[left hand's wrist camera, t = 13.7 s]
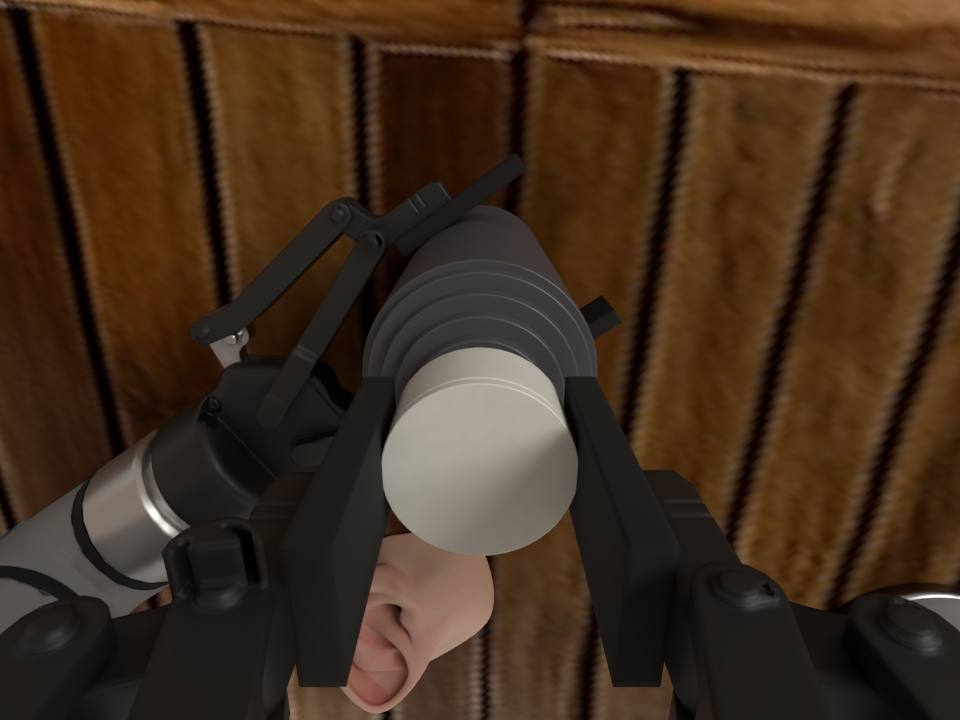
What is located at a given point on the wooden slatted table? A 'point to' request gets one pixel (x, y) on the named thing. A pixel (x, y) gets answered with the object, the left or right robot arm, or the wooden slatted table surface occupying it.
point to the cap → (479, 453)
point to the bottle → (480, 304)
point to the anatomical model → (415, 617)
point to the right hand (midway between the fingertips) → (567, 238)
